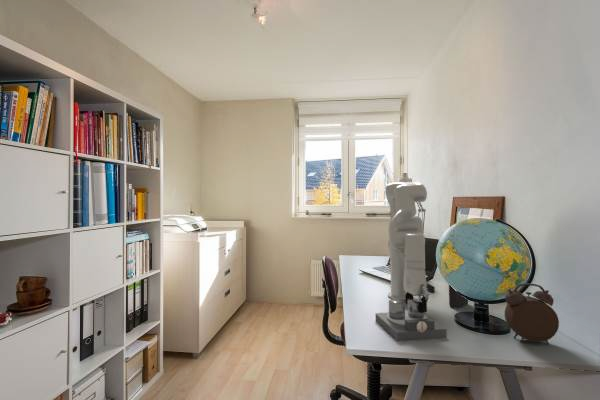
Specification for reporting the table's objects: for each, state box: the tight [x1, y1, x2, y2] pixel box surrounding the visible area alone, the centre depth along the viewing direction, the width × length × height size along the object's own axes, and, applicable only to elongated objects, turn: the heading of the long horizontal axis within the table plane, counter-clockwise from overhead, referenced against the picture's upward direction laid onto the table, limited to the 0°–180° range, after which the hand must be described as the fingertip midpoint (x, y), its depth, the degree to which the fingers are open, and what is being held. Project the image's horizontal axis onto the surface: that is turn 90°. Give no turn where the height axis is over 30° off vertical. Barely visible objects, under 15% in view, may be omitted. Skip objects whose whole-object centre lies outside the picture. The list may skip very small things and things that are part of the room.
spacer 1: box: [388, 298, 406, 320], centre depth 115 cm, size 6×6×6 cm
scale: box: [375, 309, 448, 342], centre depth 114 cm, size 19×19×6 cm
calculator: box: [448, 284, 469, 309], centre depth 140 cm, size 11×4×15 cm, turn 123°
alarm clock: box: [504, 282, 560, 345], centre depth 102 cm, size 14×7×20 cm, turn 78°
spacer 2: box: [407, 297, 425, 319], centre depth 116 cm, size 6×6×6 cm
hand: (415, 308), depth 116 cm, fingers open, 9 cm apart
